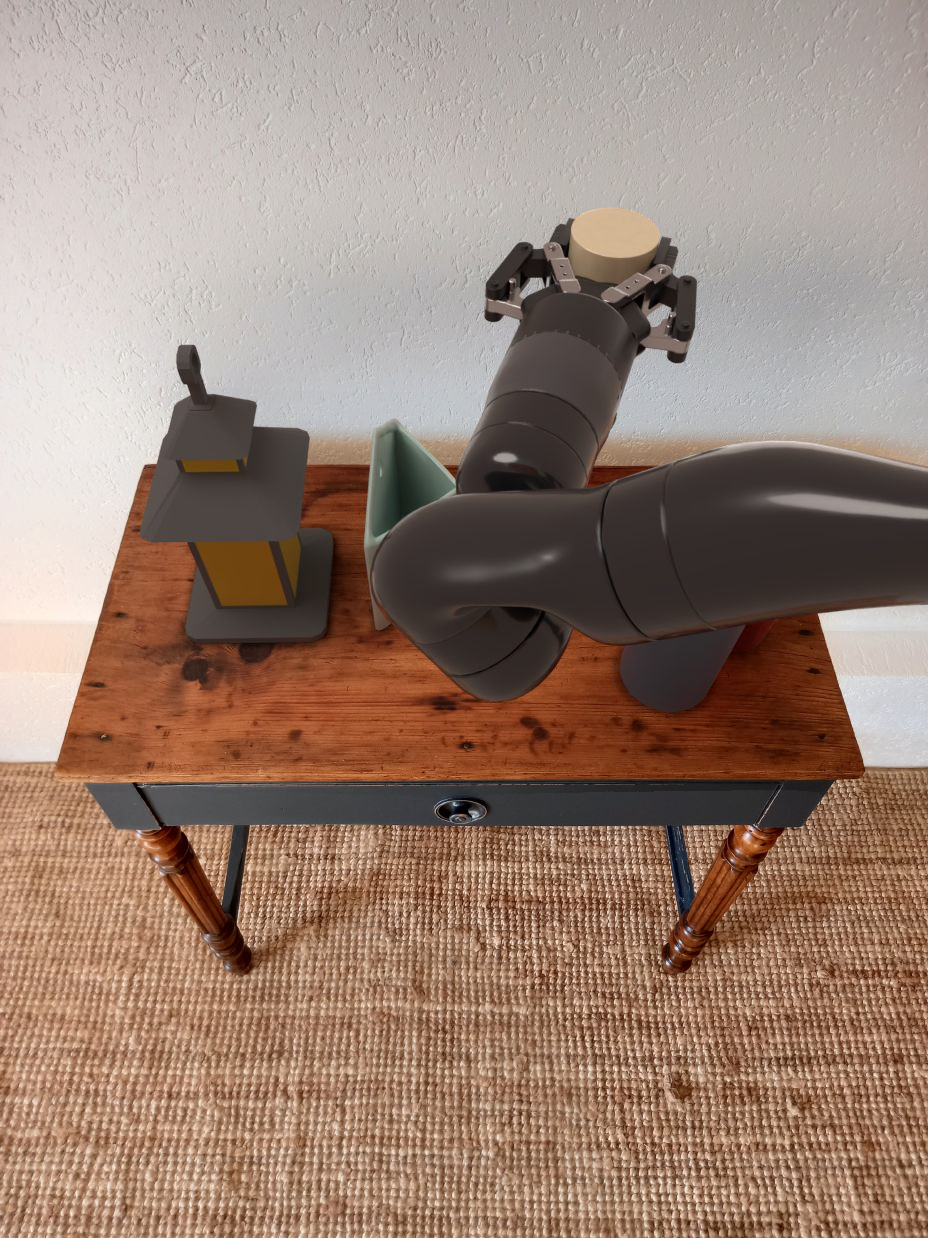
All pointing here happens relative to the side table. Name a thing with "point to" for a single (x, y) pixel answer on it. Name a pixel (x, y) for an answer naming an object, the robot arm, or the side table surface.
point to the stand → (676, 668)
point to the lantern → (239, 519)
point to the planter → (398, 488)
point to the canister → (612, 244)
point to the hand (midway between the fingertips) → (617, 240)
